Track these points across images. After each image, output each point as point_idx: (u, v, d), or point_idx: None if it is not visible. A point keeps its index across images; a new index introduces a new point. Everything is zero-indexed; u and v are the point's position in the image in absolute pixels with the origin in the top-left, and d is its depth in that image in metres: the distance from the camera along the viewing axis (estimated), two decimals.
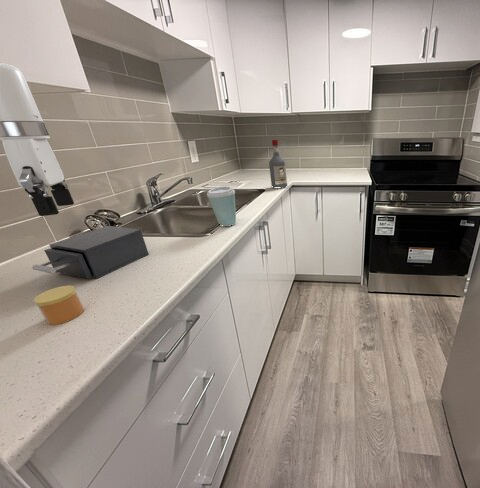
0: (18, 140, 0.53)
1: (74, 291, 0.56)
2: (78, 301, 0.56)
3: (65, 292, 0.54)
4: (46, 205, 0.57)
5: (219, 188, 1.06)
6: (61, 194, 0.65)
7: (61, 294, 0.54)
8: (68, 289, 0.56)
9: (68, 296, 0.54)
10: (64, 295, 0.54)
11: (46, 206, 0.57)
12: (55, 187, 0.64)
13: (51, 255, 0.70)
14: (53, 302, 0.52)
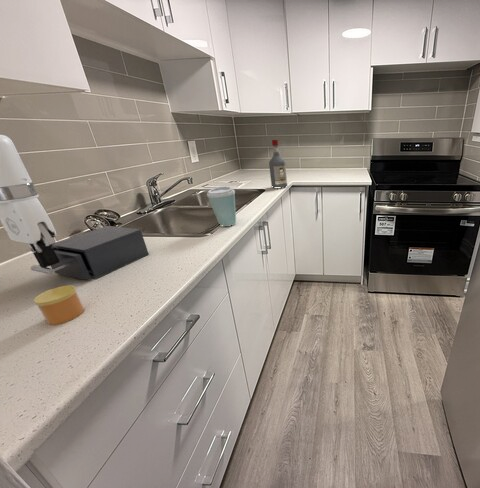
0: (30, 200, 0.59)
1: (74, 291, 0.56)
2: (78, 301, 0.56)
3: (65, 292, 0.54)
4: (52, 256, 0.66)
5: (219, 188, 1.06)
6: None
7: (61, 294, 0.54)
8: (68, 289, 0.56)
9: (68, 296, 0.54)
10: (64, 295, 0.54)
11: (52, 257, 0.66)
12: None
13: None
14: (53, 302, 0.52)
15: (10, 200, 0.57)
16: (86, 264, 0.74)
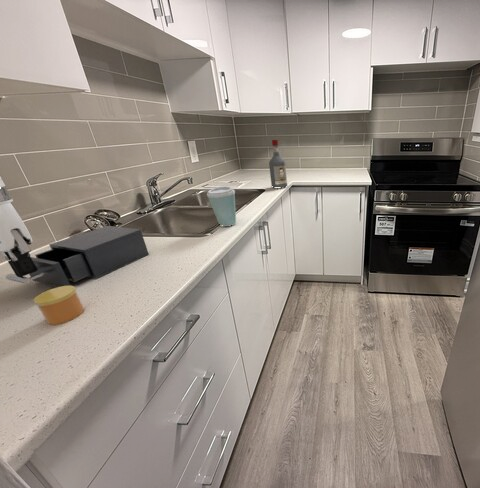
0: (2, 205, 0.55)
1: (74, 291, 0.56)
2: (78, 301, 0.56)
3: (65, 292, 0.54)
4: (29, 264, 0.62)
5: (219, 188, 1.06)
6: None
7: (61, 294, 0.54)
8: (68, 289, 0.56)
9: (68, 296, 0.54)
10: (64, 295, 0.54)
11: (29, 265, 0.62)
12: None
13: None
14: (53, 302, 0.52)
15: None
16: (67, 272, 0.70)
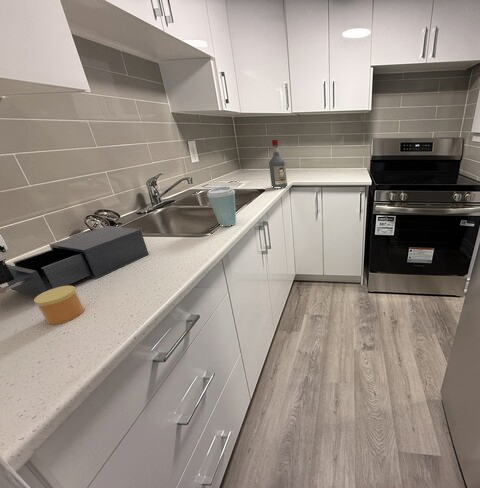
0: None
1: (74, 291, 0.56)
2: (78, 301, 0.56)
3: (65, 292, 0.54)
4: (5, 273, 0.58)
5: (219, 188, 1.06)
6: None
7: (61, 294, 0.54)
8: (68, 289, 0.56)
9: (68, 296, 0.54)
10: (64, 295, 0.54)
11: (5, 274, 0.58)
12: None
13: None
14: (53, 302, 0.52)
15: None
16: None
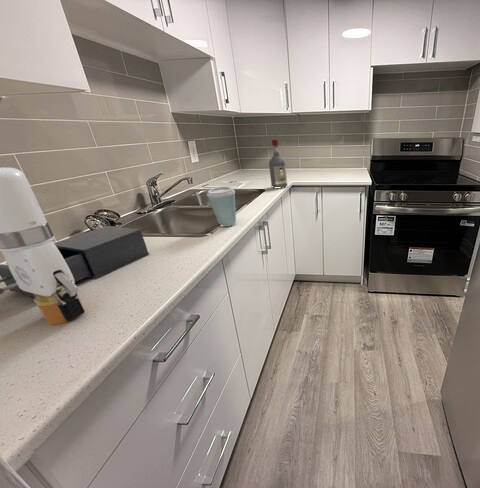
0: (45, 246, 0.49)
1: None
2: None
3: (65, 292, 0.54)
4: (77, 307, 0.54)
5: (219, 188, 1.06)
6: None
7: (61, 294, 0.54)
8: None
9: None
10: None
11: (77, 308, 0.55)
12: None
13: (2, 272, 0.62)
14: (53, 302, 0.52)
15: (21, 247, 0.47)
16: None
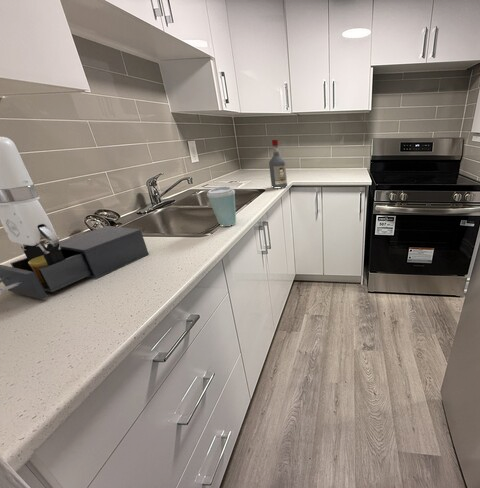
0: (31, 202, 0.59)
1: None
2: None
3: None
4: (59, 257, 0.64)
5: (219, 188, 1.06)
6: (35, 252, 0.67)
7: None
8: None
9: None
10: None
11: (59, 258, 0.65)
12: (28, 246, 0.65)
13: (1, 272, 0.62)
14: (44, 264, 0.64)
15: (11, 202, 0.57)
16: None
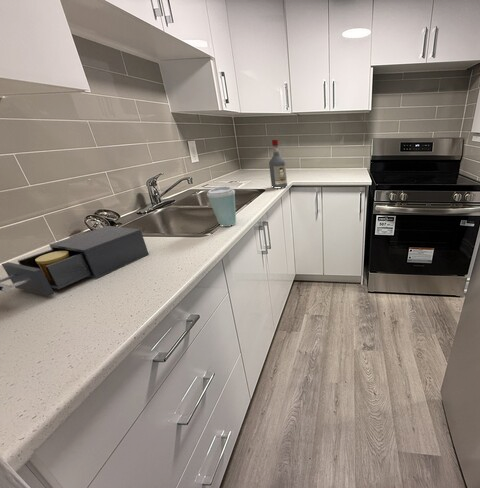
0: None
1: (68, 254, 0.68)
2: None
3: (60, 254, 0.67)
4: None
5: (219, 188, 1.06)
6: None
7: (57, 256, 0.67)
8: (63, 253, 0.68)
9: (63, 258, 0.67)
10: (59, 256, 0.66)
11: None
12: None
13: (9, 270, 0.63)
14: (50, 261, 0.65)
15: None
16: None
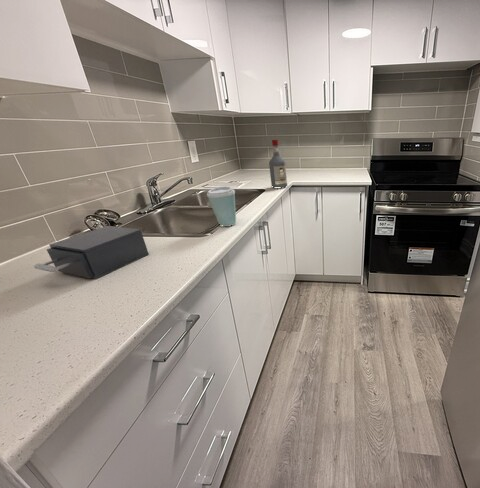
0: None
1: None
2: None
3: None
4: None
5: (219, 188, 1.06)
6: None
7: None
8: None
9: None
10: None
11: None
12: None
13: (53, 254, 0.71)
14: None
15: None
16: None
